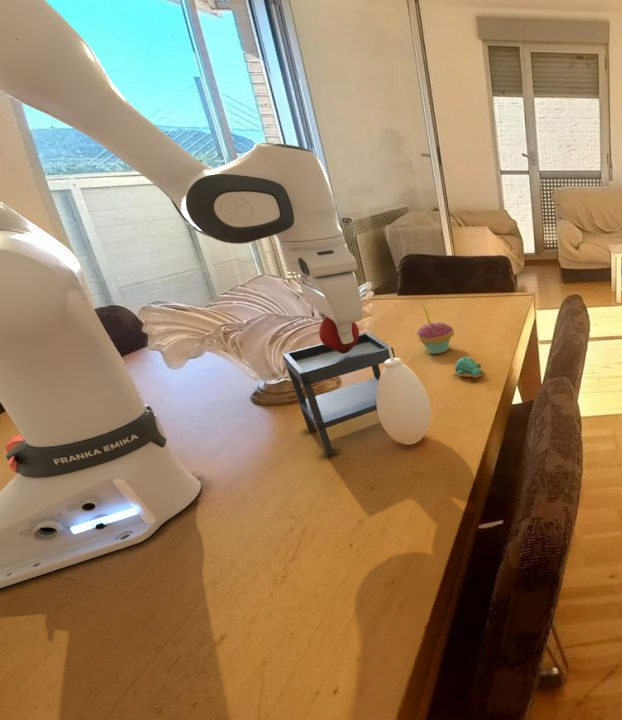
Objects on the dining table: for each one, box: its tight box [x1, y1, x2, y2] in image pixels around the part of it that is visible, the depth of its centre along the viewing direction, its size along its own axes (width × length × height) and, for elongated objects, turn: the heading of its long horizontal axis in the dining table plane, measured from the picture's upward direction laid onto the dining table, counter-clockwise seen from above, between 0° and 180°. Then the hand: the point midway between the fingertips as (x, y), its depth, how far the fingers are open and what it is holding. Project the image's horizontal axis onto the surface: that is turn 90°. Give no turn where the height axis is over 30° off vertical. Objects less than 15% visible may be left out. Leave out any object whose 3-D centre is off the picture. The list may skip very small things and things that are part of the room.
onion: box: [318, 317, 360, 354], centre depth 80 cm, size 6×6×8 cm
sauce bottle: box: [376, 344, 432, 445], centre depth 78 cm, size 8×8×18 cm
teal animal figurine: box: [454, 356, 485, 379], centre depth 105 cm, size 6×7×4 cm
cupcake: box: [416, 304, 455, 355], centre depth 118 cm, size 9×8×12 cm
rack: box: [281, 331, 396, 457], centre depth 84 cm, size 14×12×15 cm
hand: (340, 337), depth 80 cm, fingers closed on onion, 6 cm apart
